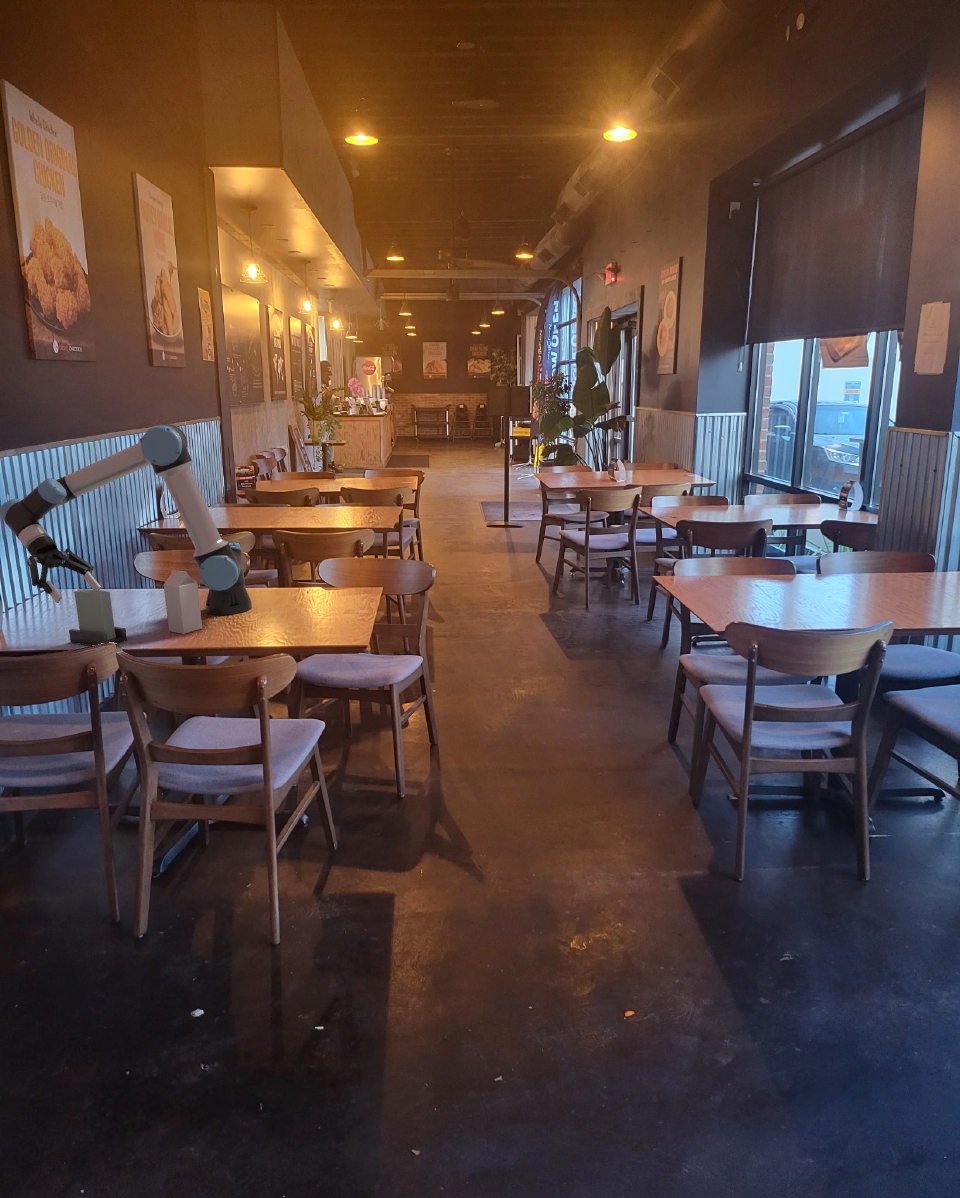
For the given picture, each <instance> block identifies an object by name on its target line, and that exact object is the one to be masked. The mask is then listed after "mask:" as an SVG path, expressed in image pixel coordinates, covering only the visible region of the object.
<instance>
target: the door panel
mask: <svg viewBox="0 0 960 1198" xmlns="http://www.w3.org/2000/svg"><path fill="white" fill-rule="evenodd" d="M73 593H74V600H75V606H76V614H77V619H78V627H79V630H84V631H90V632H97V633H104V634H107V638H108V640H109V639H112V638H115V637H116V635H115V628H114V627H115V622H114V615H113V607H112V600H111V599H112V598H111V593H110V591H104V590H99V591H97V590H93V589H87V588H86V589H85V588H83V589H79V590H76V591H73Z"/></svg>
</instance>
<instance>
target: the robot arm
mask: <svg viewBox="0 0 960 1198" xmlns="http://www.w3.org/2000/svg"><path fill="white" fill-rule="evenodd" d="M192 463H193V459H192V458H191V454H190V453H189V451H188V438H187V436H186V434H185V432H184V431H183V430H182V429H180V428H179V427H178V426H176V425H173V424H167V423H166V424H157V425H154V426H152V427H150V428H148V430H146V431H145V433H144V434H143V436H142V437H140V438H139V440H138V442H137V443H135V444H133V445H130V446H129V447H126V448H124V449H122V450H120V451H118V452H115V453H114V454H113V453H112V454H111V455H109V456H107V457H104V458H102V459H99V460H97V461H95V462H93V463H90V464H89V465H87V466H84V467H82V468H80V469H77V470H75V471H73V472H71V473H69V474H67V475H63V476H62V477H59V478H58V479H55V478H54V479H53V478H51V477H48V478H45V479H44V480H43V481H42V482H40V483H39V484H38V485H37V486H36V487H35V488H34V489H33V490H32V491H31V492H29V494H27V495H26V496H25V497H24V498H22V499H19V498H11V499H9V500H8V501H5V502H3V504H2V505H1V506H0V517H1V518H2V519H3V521H4V523H5V525H6V526H8V528H9V529H10V530H11V531H12V532H13V534H14V535H15V536H16V538H17V539H18V540H19V541H20V543H21V544H22V546H24V548H25V549H26V550H27V552H28V553H29V554H30V555H29V557H28V558H27V560H26V564H27V566H28V568H29V573H30V579H31V580H30V581H31V585H32V586H33V587H37V588H38V589H43V590H44V593H46V594H47V595H50V597H51V598H52V599H53V600H54V602H55V603H56V604H59V603H60V602H61V600H62V598H63V596H62V594H61V593H60V592H59V590H57V588H56V587H55V586H54V584H53V583H52V581H51V580H47V578H48V572H49V570H50V569H54V568H60V567H61V568H66V569H68V570H71V571H74V573H77V574H80V575H82V576H83V577H82V578H83V580H85V582H86V583H87V584H88V586H89V587H90V588H91V590H97V591H101V588H102V586H101V585H100V584H99V582H98V581H97V578H96V577H95V574H93V571H94V569H95V566H94V565H93V564H91V563H89V562H88V561H86V560H85V559H83V558H82V557H81V556H78V555H77V554H76V553H74V552H73V551H72V550H71V549H70V548H66V549H65V550H63V551H61V550H59V547H58V545H57V543H56V542H55V541H54V540H53V538H52V537H51V536H50V535H49V533H48V532H47V531H46V530H45V528H44V527H43V526H42V525H41V523H40V522H39V521H40V520H41V519H42V518H44V516H46V515H47V514H48V513H49V512H51V511H52V510H53V509H55V508H57V507H59V506H62V505H64V504H67V503H69V502H71V501H73V500H76V499H77V498H78V497H81V496H83V495H86V494H88V493H89V492H92V491H94V490H97V489H99V488H101V487H103V486H105V485H108V484H110V483H112V482H114V481H117V480H120V479H122V478H124V477H127V476H128V475H130V474H133V473H135V472H137V471H139V470H142V469H143V468H146V467H149V466H152V469H153V471H154V473H155V475H156V476H158V477H161V478H162V479H163V481H164V483H165V484H166V487H167V489H168V491H169V493H170V496H171V498H172V501H173V502H174V505H175V507H176V509H177V512H178V513H179V515H180V518H181V520H182V522H183V524H184V526H185V529H186V531H187V533H188V536H189V538H190V540H191V542H192V544H193V546H194V549H195V550H194V552H193V555H192V556H193V558H194V560H195V563H196V565H197V567H198V572H199V578H200V580H201V582H202V583H203V585H205V587H207V588H208V593H207V598H206V601H205V612H206V613H208V614H210V615H218V616H219V615H220V616H222V615H234V614H239V613H240V614H241V613H245V612H246V611H249V610H251V609H252V608H253V605H252V600H251V597H250V595H249V592H248V590H247V588H246V584H245V575H244V567H243V559H242V558H243V557H242V556H243V555H242V553H243V550H242V547H241V544H240V543H239V542H229V541H228V540H225V539H222V537H221V535H220V533H219V530H218V528H217V526H216V524H215V521H214V519H213V517H212V514H211V513H210V510H209V508H208V506H207V503H206V501H205V499H204V496H203V493H202V492H201V490H200V488H199V486H198V483H197V480H196V479H195V476H194V474H193V472H192V469H191V466H192ZM38 564H40V565H41V570H40V576H39V569H38Z"/></svg>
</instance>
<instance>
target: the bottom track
mask: <svg viewBox="0 0 960 1198" xmlns="http://www.w3.org/2000/svg"><path fill="white" fill-rule="evenodd" d="M114 628H115V635H116V637H115V638H112V639H109V640H108V638H107V634H104V633H97V632H90V631H84V630H80V629H76V628H70V629H69V630H68V633H69V640H70V641H69V642H70V643H71V642H72V643H71V644H76V643H80V644H79V645H83V646H91V647H93V646H92V645H98V644H101V643H109V642H114V643H117V644H116V645H119V644H122V643H125V642H128V636H127V630H126V629H127V628H125V627H120V626H114Z"/></svg>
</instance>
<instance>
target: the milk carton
mask: <svg viewBox="0 0 960 1198" xmlns="http://www.w3.org/2000/svg"><path fill="white" fill-rule="evenodd" d="M170 571H171V574H170V575H169V576H168V578H167V579H166V580H165V582H164V583H163V589H164V590H163V591H164V600H165V607H166V614H167V624H168V631H169V632H172V633H176V634H177V633H178V634H182V635H185V634H188V633H191V632H195V631H197V630H201V629H203V625H202V615H201V614H202V613H201V605H200V596H199V595H200V594H199V586H198V581H196V580H195V579H193V578H192V577H191V576H190V575H189V574H188V572H187V571H185V570H184V571H183V570H177V569H176V570H175V569H171V570H170Z"/></svg>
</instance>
